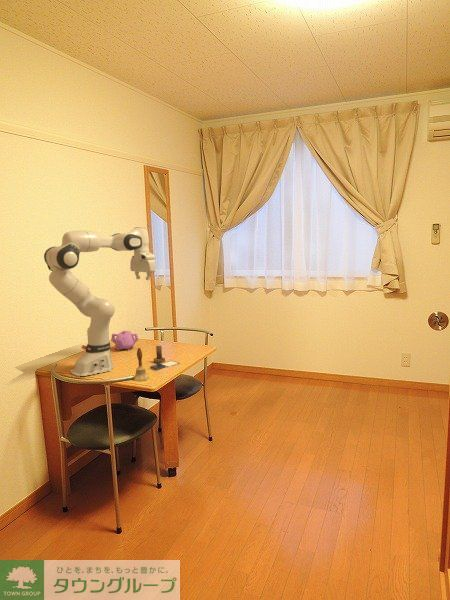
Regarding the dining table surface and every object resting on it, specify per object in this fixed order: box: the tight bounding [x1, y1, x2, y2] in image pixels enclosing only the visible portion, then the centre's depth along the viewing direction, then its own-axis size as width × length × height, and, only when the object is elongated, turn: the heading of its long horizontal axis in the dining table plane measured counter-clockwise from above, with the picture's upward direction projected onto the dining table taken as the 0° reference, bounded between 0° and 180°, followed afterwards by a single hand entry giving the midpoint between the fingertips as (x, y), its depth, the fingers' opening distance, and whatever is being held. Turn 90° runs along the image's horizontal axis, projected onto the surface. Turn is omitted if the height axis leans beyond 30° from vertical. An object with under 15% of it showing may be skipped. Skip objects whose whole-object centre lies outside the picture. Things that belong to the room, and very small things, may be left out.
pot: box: [110, 330, 139, 351], centre depth 262 cm, size 18×17×12 cm
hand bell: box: [133, 347, 150, 382], centre depth 206 cm, size 8×8×16 cm
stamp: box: [153, 345, 166, 364], centre depth 232 cm, size 5×4×9 cm
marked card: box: [160, 360, 181, 368], centre depth 229 cm, size 8×8×1 cm
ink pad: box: [149, 363, 167, 371], centre depth 223 cm, size 6×5×1 cm
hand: (143, 279), depth 239 cm, fingers open, 8 cm apart
